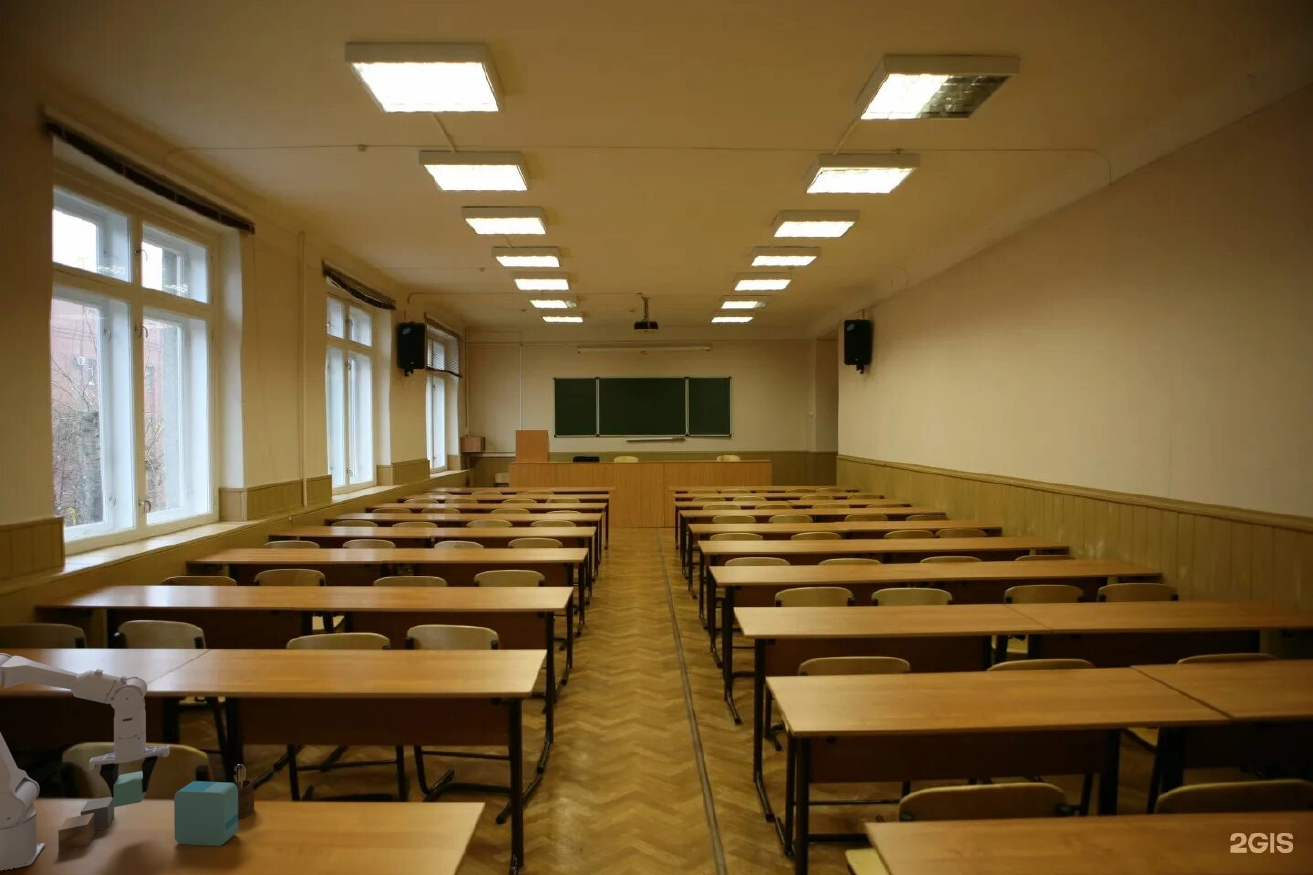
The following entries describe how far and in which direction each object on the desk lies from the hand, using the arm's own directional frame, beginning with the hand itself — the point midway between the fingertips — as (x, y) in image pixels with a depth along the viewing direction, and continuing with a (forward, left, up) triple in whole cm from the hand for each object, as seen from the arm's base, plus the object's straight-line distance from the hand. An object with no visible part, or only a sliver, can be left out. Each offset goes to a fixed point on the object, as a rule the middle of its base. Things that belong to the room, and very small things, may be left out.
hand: (130, 792), depth 155 cm
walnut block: (-10, +1, -10) cm, 14 cm away
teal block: (0, 0, -1) cm, 1 cm away
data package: (+16, -10, -10) cm, 21 cm away
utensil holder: (+22, -1, -10) cm, 24 cm away
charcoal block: (-8, +8, -10) cm, 15 cm away
